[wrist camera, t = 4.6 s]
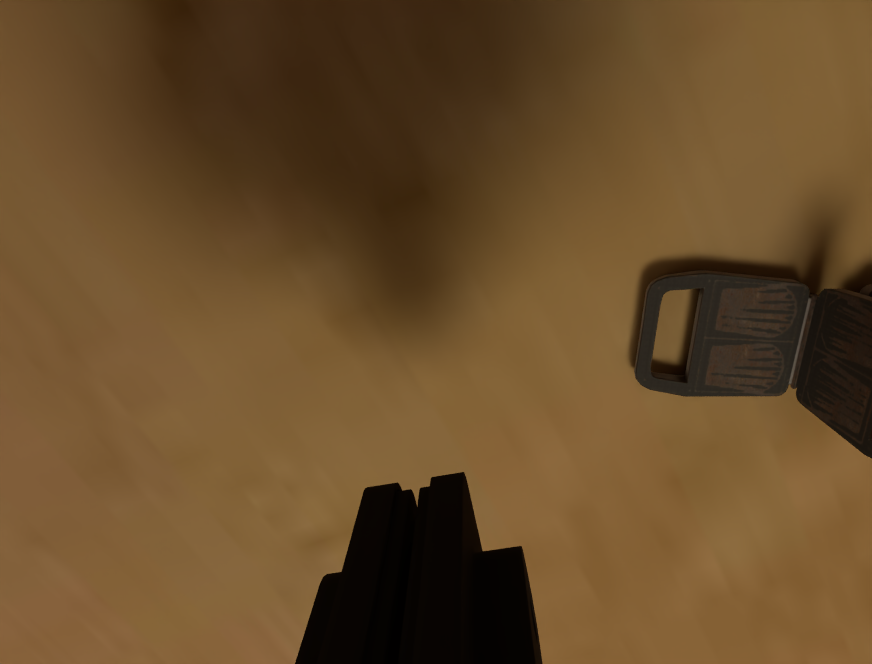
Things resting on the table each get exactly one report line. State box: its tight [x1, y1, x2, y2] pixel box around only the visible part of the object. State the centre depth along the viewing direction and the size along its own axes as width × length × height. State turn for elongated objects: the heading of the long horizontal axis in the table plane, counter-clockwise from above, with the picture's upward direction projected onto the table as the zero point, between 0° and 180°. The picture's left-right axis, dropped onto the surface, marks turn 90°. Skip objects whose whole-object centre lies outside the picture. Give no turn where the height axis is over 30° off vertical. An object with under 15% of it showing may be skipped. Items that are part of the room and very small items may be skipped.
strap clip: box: [634, 270, 872, 458], centre depth 13 cm, size 8×3×4 cm, turn 88°
